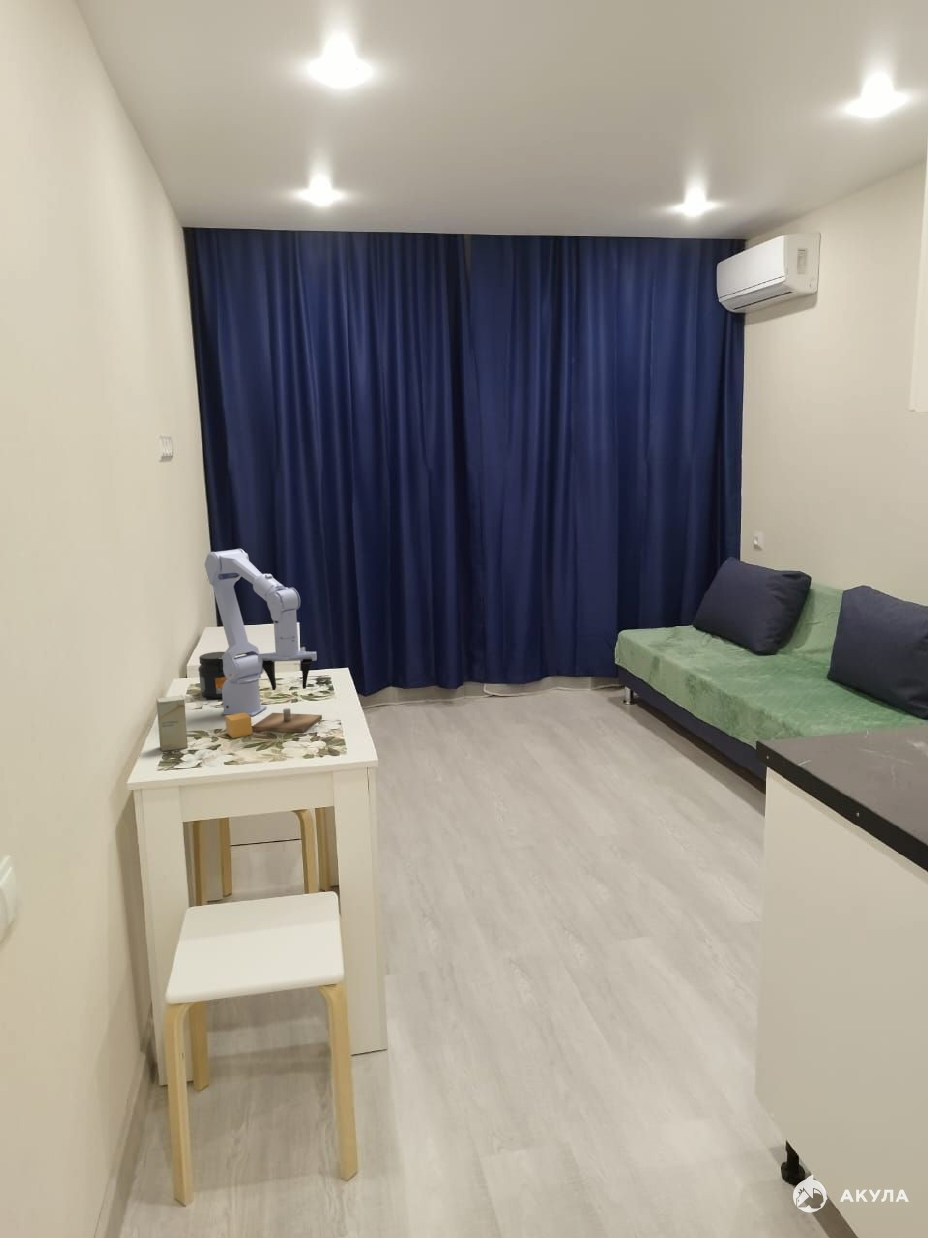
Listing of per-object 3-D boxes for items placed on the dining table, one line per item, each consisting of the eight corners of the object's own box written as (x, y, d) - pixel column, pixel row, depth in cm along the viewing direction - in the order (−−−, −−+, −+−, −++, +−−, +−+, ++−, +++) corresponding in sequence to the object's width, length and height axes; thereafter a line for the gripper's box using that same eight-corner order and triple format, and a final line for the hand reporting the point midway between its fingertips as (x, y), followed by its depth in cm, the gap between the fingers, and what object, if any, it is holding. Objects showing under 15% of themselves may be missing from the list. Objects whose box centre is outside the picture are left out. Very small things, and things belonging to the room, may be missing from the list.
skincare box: (161, 751, 213) (157, 702, 210) (159, 746, 217) (155, 698, 214) (189, 747, 215) (184, 699, 213) (186, 742, 219) (182, 694, 217)
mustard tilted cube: (232, 738, 221) (231, 720, 221) (226, 732, 226) (225, 715, 225) (252, 734, 224) (251, 717, 223) (246, 729, 228) (244, 712, 227)
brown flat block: (252, 730, 227) (251, 715, 226) (273, 716, 239) (271, 701, 238) (303, 732, 224) (302, 717, 223) (322, 718, 235) (321, 704, 235)
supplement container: (243, 695, 259) (240, 655, 257) (207, 702, 253) (204, 661, 251) (230, 688, 268) (227, 649, 266) (195, 694, 262) (192, 654, 260)
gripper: (254, 641, 222) (258, 693, 225) (313, 638, 223) (316, 691, 225) (259, 635, 229) (262, 686, 231) (316, 633, 230) (319, 684, 232)
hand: (289, 688), depth 229 cm, fingers open, 7 cm apart
